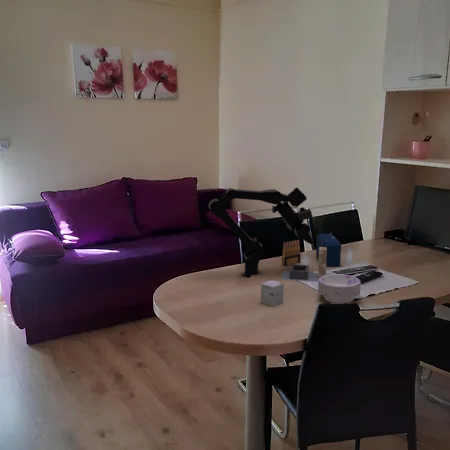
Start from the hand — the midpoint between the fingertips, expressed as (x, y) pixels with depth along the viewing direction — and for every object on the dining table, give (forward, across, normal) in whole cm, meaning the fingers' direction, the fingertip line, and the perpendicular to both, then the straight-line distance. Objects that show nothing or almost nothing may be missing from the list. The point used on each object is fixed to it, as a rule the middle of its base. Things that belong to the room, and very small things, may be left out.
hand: (309, 241), depth 202 cm
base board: (+10, -8, +10) cm, 17 cm away
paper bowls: (+13, -34, +8) cm, 37 cm away
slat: (+12, -10, +6) cm, 17 cm away
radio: (+20, +15, -2) cm, 25 cm away
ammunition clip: (+8, +12, +13) cm, 19 cm away
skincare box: (-3, -33, +27) cm, 43 cm away
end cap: (+7, -7, +13) cm, 16 cm away
